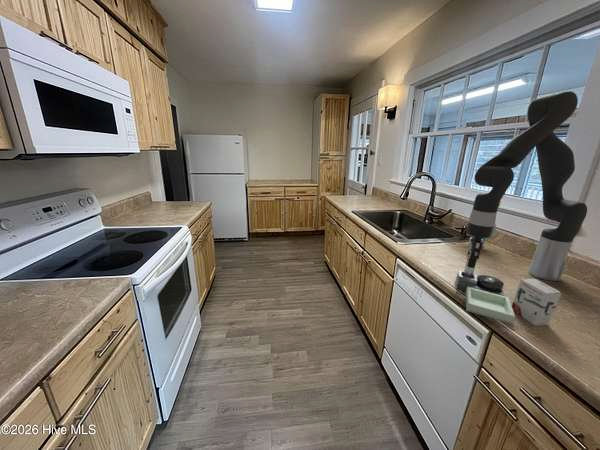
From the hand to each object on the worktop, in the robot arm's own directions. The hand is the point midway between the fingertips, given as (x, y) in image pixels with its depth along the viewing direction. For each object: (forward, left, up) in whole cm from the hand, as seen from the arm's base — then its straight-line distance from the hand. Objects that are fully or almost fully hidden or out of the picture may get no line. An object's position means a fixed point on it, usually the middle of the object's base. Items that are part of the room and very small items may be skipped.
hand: (470, 263), depth 92 cm
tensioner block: (-4, 0, -10) cm, 11 cm away
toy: (-7, -54, -10) cm, 55 cm away
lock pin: (0, 0, -7) cm, 7 cm away
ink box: (-17, +10, -10) cm, 23 cm away
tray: (-6, +12, -10) cm, 17 cm away
